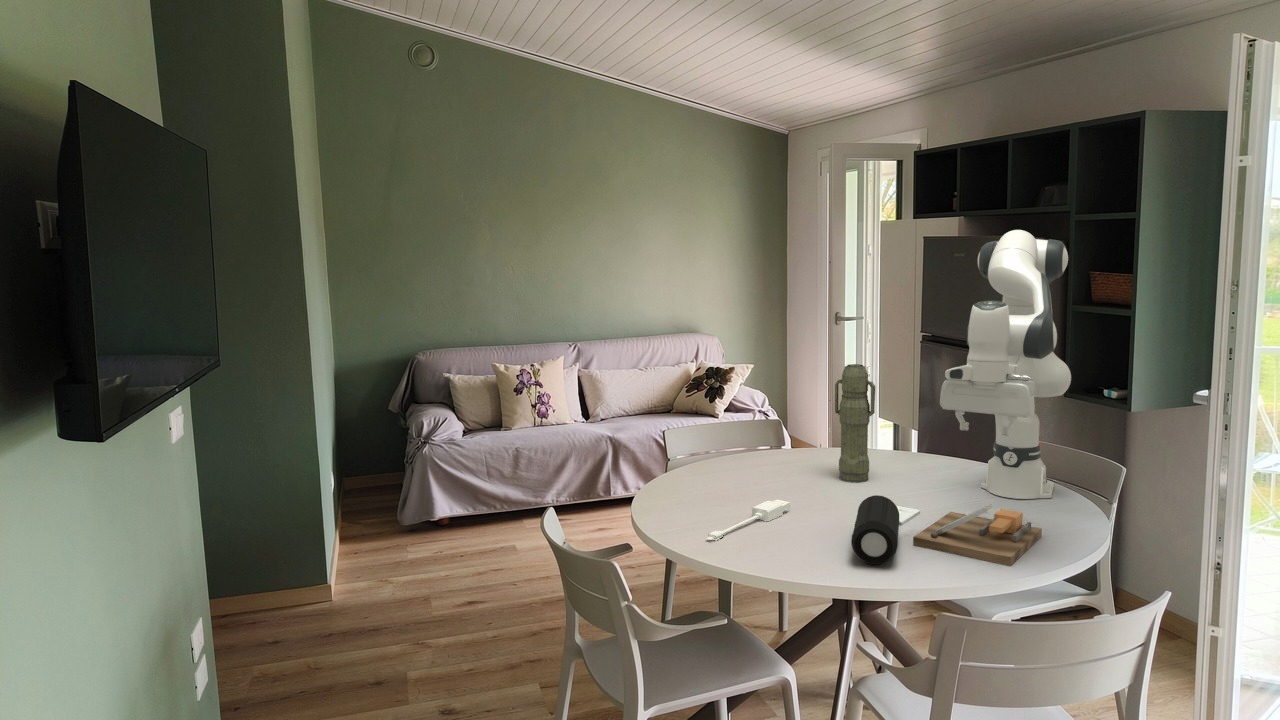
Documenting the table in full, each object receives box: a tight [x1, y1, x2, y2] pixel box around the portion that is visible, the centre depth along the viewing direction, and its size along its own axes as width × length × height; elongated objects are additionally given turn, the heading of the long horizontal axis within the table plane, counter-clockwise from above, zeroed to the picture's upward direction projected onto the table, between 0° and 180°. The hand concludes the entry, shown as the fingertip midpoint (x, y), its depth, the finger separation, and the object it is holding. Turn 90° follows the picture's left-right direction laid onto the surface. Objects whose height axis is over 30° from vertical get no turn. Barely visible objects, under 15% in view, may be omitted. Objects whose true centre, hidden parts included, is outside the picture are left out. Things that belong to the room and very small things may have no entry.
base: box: [912, 511, 1043, 567], centre depth 199 cm, size 24×22×4 cm
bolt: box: [989, 508, 1024, 534], centre depth 198 cm, size 12×5×4 cm, turn 140°
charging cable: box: [705, 499, 791, 541], centre depth 214 cm, size 5×32×3 cm, turn 136°
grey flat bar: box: [936, 503, 994, 535], centre depth 195 cm, size 4×14×1 cm
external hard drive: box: [896, 505, 921, 527], centre depth 219 cm, size 2×8×12 cm
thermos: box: [834, 363, 876, 484], centre depth 253 cm, size 9×12×35 cm
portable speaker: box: [850, 495, 900, 565], centre depth 195 cm, size 26×10×10 cm, turn 162°
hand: (984, 432), depth 192 cm, fingers open, 8 cm apart
